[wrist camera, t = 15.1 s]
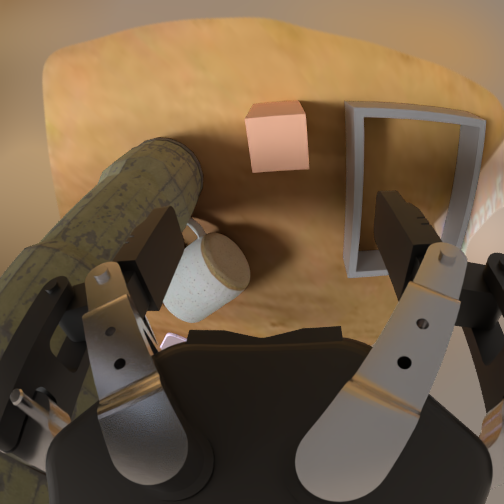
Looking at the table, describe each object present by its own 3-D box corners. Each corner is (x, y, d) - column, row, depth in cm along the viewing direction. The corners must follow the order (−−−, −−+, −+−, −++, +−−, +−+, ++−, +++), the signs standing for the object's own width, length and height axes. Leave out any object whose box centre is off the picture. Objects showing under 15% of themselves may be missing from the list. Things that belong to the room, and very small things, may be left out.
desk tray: (442, 250, 31) (453, 268, 28) (342, 257, 33) (347, 278, 30) (467, 111, 20) (486, 120, 17) (344, 101, 22) (353, 107, 19)
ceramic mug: (258, 257, 34) (252, 306, 28) (211, 289, 38) (199, 335, 31) (189, 195, 30) (165, 235, 24) (148, 237, 33) (122, 279, 27)
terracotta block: (298, 100, 23) (305, 114, 17) (301, 142, 25) (308, 169, 20) (253, 104, 23) (244, 118, 18) (258, 145, 26) (252, 172, 20)
